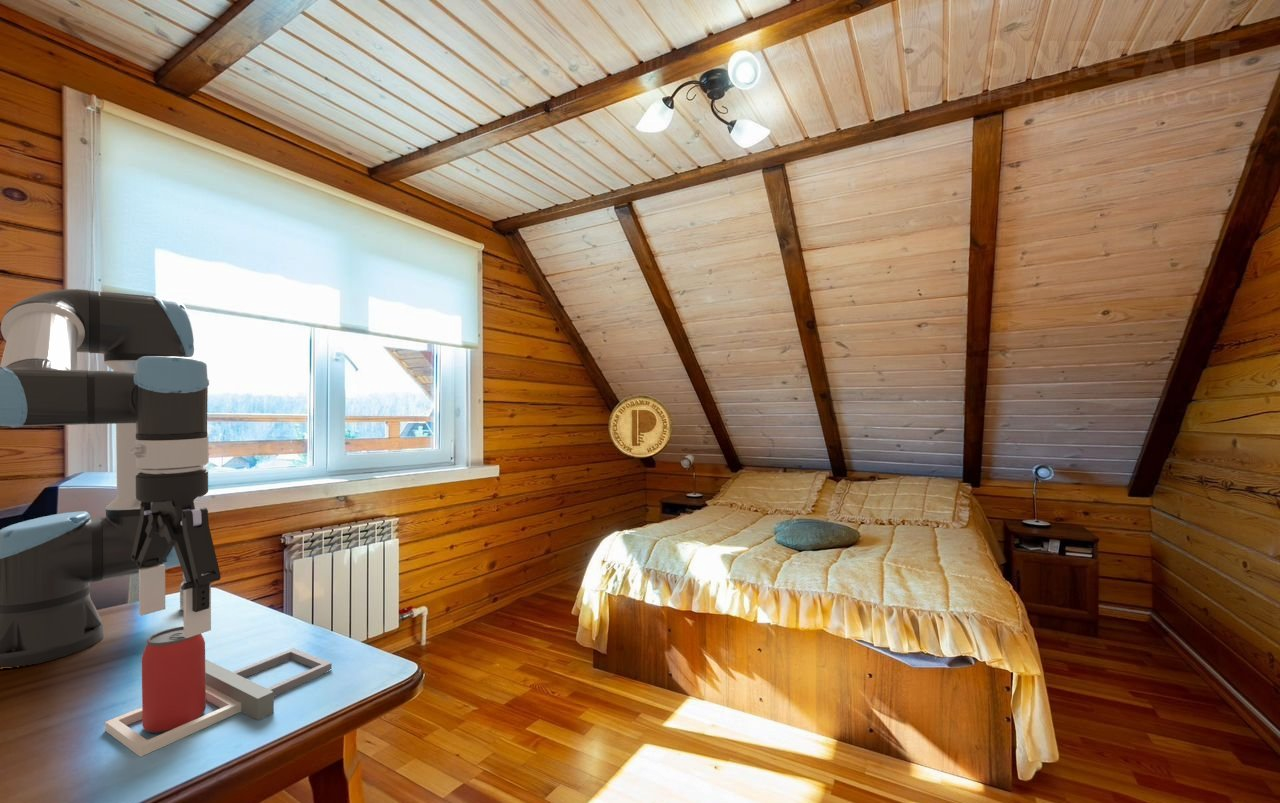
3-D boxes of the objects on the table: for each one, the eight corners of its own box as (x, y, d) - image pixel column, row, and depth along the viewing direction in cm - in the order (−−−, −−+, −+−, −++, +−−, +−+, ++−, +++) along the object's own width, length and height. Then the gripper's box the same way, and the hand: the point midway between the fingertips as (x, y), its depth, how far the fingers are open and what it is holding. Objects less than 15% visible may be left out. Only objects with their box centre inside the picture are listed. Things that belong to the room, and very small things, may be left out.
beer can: (168, 738, 70) (167, 647, 70) (129, 732, 71) (128, 642, 71) (218, 709, 76) (217, 625, 76) (180, 704, 78) (179, 622, 78)
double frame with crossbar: (92, 721, 74) (92, 699, 74) (279, 649, 95) (279, 632, 95) (156, 768, 64) (156, 743, 64) (348, 677, 85) (348, 658, 85)
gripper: (100, 465, 76) (101, 612, 77) (181, 481, 64) (182, 656, 65) (166, 459, 83) (167, 595, 83) (251, 473, 71) (251, 632, 71)
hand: (173, 622), depth 74 cm, fingers open, 13 cm apart
